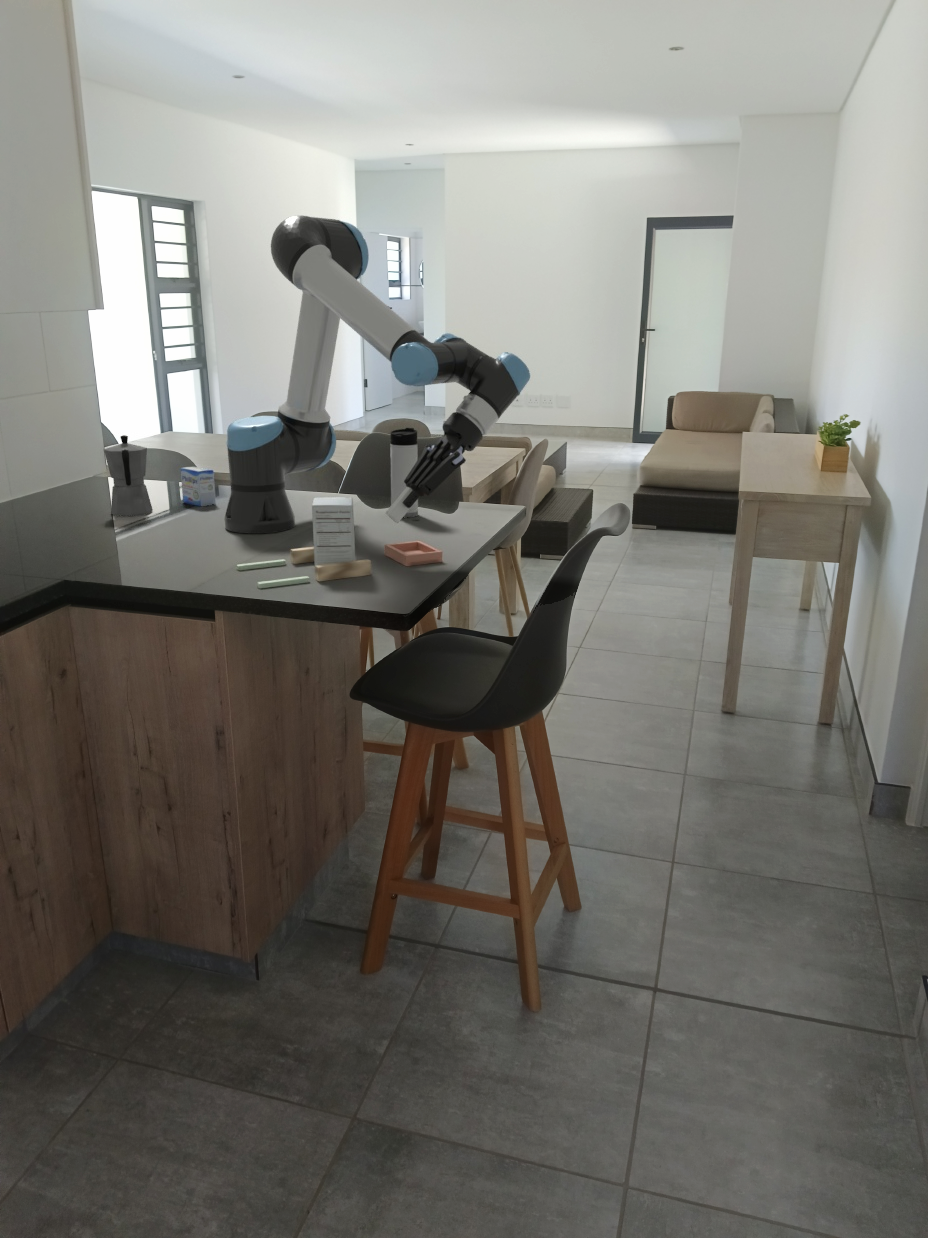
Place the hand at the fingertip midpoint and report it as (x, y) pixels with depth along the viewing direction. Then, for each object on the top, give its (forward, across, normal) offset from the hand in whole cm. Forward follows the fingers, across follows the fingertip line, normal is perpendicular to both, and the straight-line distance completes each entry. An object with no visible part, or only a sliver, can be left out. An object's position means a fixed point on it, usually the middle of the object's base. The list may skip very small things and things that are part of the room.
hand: (391, 517), depth 173 cm
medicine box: (+19, -73, -7) cm, 76 cm away
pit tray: (+3, 0, +9) cm, 10 cm away
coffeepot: (+31, -68, -19) cm, 77 cm away
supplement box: (+14, 0, -2) cm, 14 cm away
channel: (+14, 0, -2) cm, 14 cm away
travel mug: (-9, -38, +21) cm, 44 cm away
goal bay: (+23, 0, -11) cm, 25 cm away
